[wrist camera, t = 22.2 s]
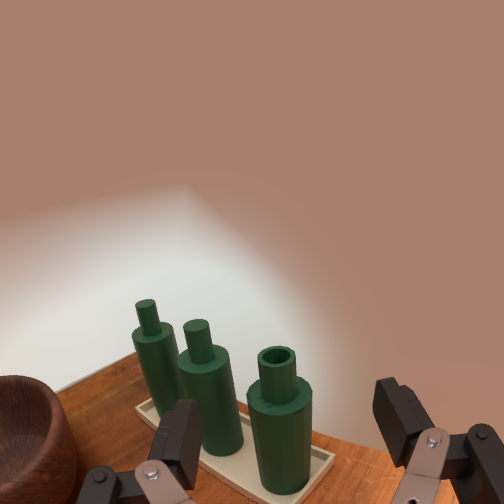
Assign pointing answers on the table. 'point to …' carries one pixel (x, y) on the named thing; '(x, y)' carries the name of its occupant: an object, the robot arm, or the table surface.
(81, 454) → the table surface
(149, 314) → the row bottle
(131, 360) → the table surface
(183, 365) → the row bottle
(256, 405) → the bottle
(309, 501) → the table surface
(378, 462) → the table surface
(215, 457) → the tray
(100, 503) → the robot arm
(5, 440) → the wooden bowl
